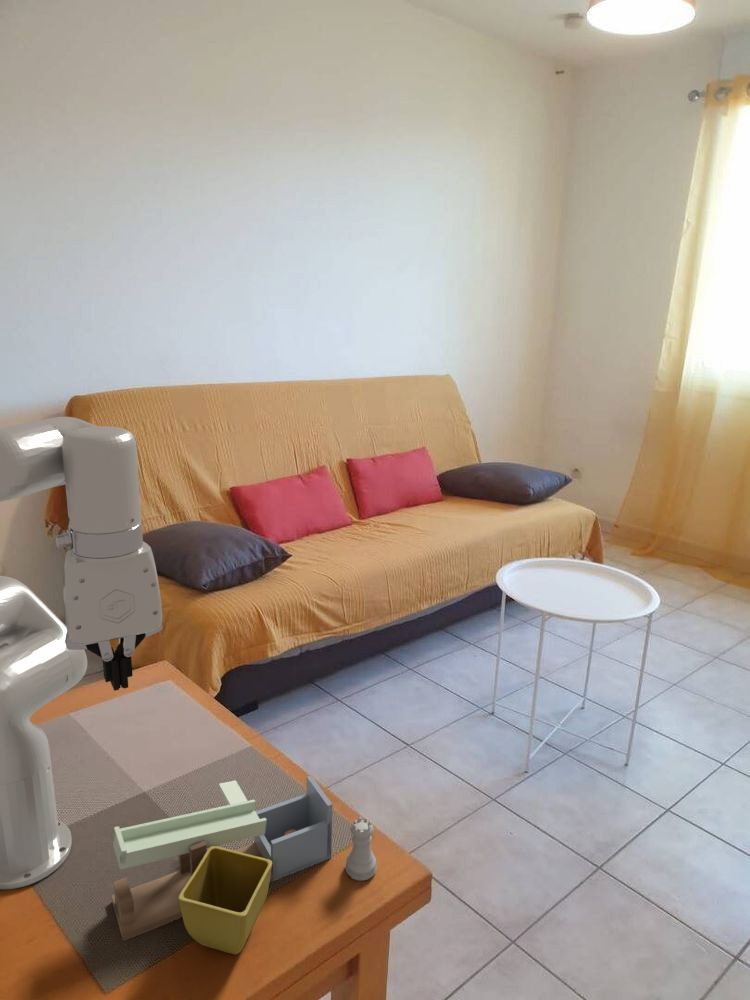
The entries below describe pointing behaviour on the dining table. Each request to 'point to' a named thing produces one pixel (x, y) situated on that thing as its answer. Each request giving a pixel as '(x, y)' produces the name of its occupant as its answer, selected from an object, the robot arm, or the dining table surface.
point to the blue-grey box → (310, 838)
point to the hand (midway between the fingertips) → (118, 683)
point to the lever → (189, 830)
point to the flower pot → (225, 898)
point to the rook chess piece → (361, 851)
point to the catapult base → (159, 894)
